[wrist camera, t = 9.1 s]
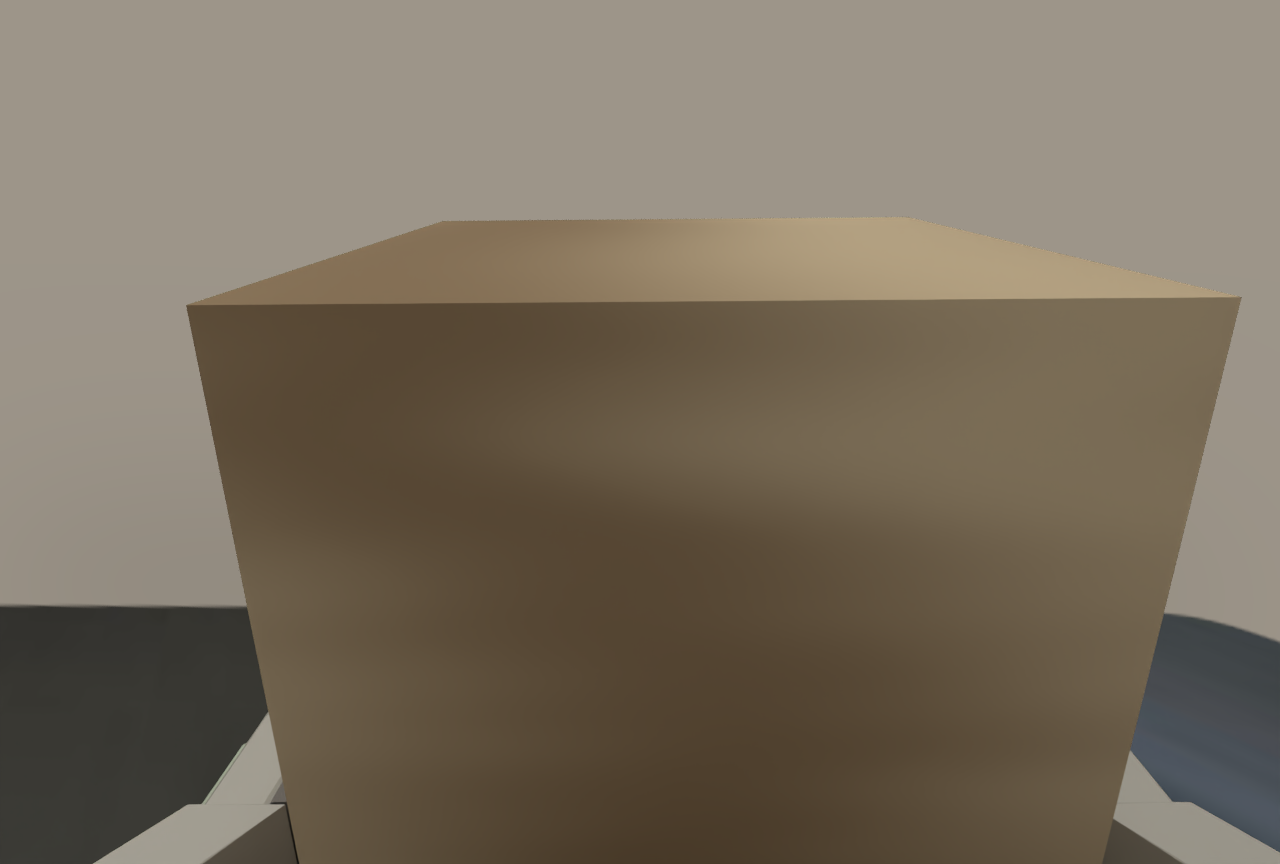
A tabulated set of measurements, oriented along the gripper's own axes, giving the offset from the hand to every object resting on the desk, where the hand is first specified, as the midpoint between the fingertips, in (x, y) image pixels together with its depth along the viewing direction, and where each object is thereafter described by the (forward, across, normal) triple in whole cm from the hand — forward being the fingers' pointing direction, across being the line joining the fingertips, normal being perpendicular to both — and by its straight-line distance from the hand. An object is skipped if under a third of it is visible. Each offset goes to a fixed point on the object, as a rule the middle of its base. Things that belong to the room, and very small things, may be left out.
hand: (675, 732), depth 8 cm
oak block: (-1, 0, +6) cm, 6 cm away
